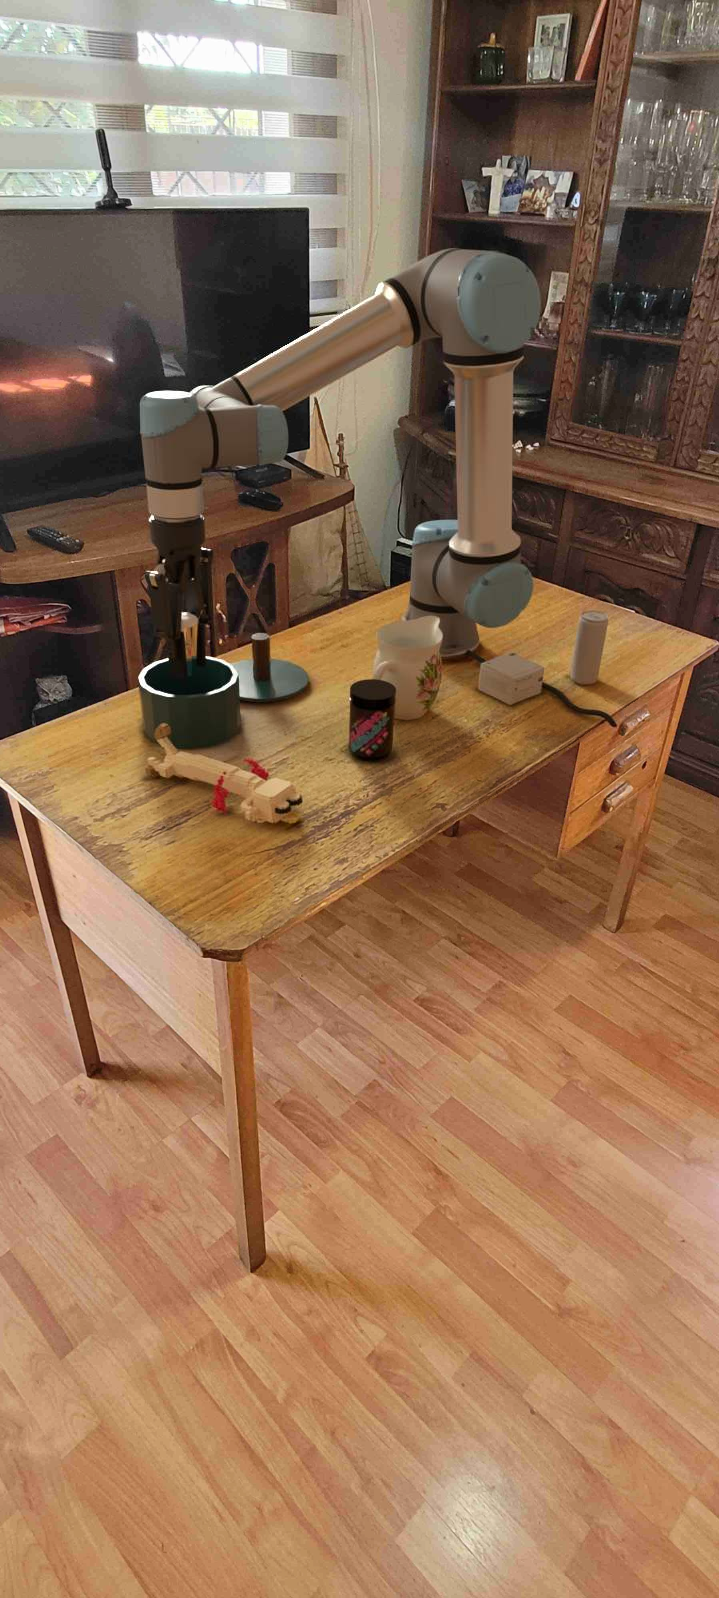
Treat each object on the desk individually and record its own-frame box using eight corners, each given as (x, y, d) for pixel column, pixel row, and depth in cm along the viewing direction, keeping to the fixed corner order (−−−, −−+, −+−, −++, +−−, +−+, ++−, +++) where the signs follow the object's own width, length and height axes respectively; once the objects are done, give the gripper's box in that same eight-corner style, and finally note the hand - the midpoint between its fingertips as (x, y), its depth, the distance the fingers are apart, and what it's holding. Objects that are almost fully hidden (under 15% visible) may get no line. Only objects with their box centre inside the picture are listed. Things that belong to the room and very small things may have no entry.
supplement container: (338, 749, 140) (340, 687, 134) (372, 736, 144) (375, 675, 138) (368, 767, 136) (371, 704, 130) (402, 753, 140) (406, 691, 134)
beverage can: (585, 688, 160) (597, 623, 154) (563, 679, 163) (574, 614, 157) (602, 681, 163) (614, 616, 157) (580, 671, 166) (591, 608, 160)
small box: (510, 706, 154) (514, 678, 151) (476, 689, 159) (479, 661, 156) (541, 694, 158) (546, 666, 155) (507, 678, 163) (511, 650, 160)
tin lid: (324, 676, 161) (325, 629, 157) (279, 713, 149) (278, 663, 145) (247, 657, 167) (245, 611, 162) (196, 691, 155) (193, 643, 150)
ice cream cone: (200, 680, 138) (196, 615, 133) (165, 675, 139) (161, 611, 133) (210, 668, 142) (207, 605, 136) (176, 664, 142) (172, 601, 137)
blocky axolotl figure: (137, 791, 131) (276, 840, 118) (127, 735, 126) (270, 780, 114) (186, 762, 138) (322, 806, 125) (178, 708, 133) (318, 748, 121)
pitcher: (342, 723, 147) (344, 643, 139) (402, 684, 160) (406, 608, 152) (401, 744, 142) (406, 661, 134) (458, 701, 155) (465, 624, 147)
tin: (257, 716, 148) (256, 667, 143) (205, 757, 137) (201, 706, 132) (180, 696, 153) (176, 648, 149) (124, 733, 142) (118, 683, 137)
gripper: (189, 496, 135) (199, 645, 148) (114, 526, 122) (132, 687, 135) (233, 504, 133) (240, 655, 145) (161, 535, 119) (175, 698, 132)
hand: (188, 670), depth 140 cm, fingers closed on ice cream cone, 4 cm apart
